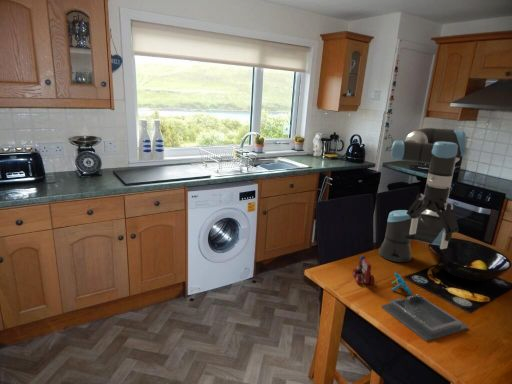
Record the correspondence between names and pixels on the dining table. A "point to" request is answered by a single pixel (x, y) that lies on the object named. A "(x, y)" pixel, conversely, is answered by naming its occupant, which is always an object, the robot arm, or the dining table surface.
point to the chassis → (424, 317)
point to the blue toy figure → (401, 284)
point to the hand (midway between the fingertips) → (427, 240)
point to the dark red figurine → (363, 272)
